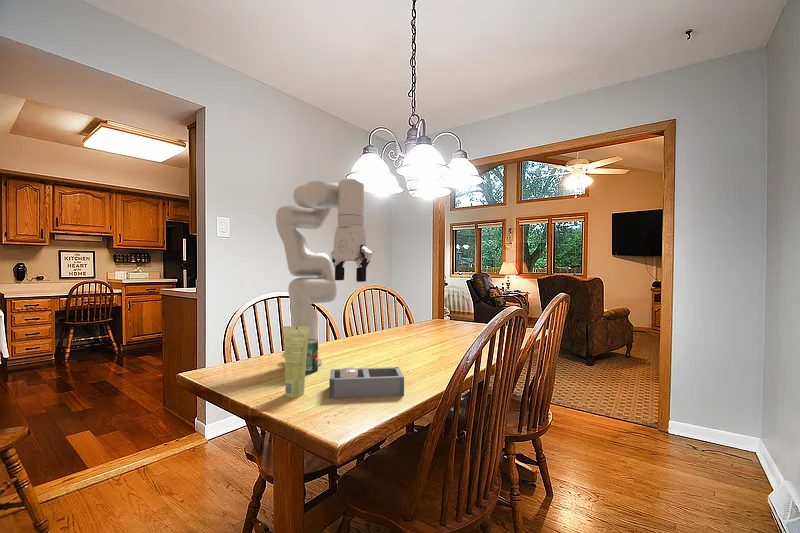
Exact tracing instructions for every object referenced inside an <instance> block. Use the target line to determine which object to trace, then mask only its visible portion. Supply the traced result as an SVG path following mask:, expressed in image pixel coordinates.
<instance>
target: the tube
mask: <svg viewBox="0 0 800 533" xmlns="http://www.w3.org/2000/svg"><path fill="white" fill-rule="evenodd" d="M282 331H283V342H284V351H285V358H284V368H285V369H284V370H285V372H284V373H285V376H284V377H285V378H284V379H285V383H284V385H285V386H284V387H285V392H284V394H285V396H286V397H288V398H298V397H302V396H304V394H305V386H306V384H305V383H306V375H305V370H306V356H307V346H308V337H309V331H310V327H293V326H291V325H290V326H288V325H283V326H282Z"/></svg>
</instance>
